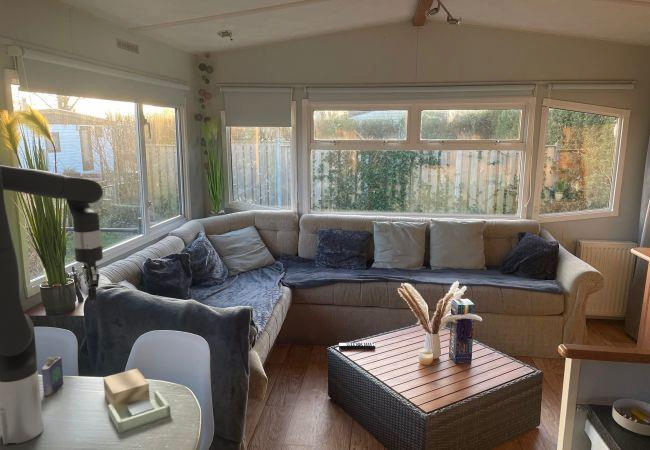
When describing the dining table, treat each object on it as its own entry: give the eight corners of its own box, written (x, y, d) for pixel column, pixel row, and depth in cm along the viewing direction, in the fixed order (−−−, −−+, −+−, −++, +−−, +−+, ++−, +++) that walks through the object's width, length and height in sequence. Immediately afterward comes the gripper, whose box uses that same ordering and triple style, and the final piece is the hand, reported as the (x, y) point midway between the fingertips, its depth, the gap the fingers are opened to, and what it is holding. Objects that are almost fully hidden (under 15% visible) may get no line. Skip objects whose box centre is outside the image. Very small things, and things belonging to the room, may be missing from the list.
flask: (50, 396, 145) (47, 363, 144) (40, 396, 145) (37, 364, 143) (65, 381, 154) (62, 350, 153) (56, 381, 154) (53, 350, 153)
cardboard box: (114, 413, 137) (113, 393, 136) (104, 395, 146) (103, 377, 145) (149, 401, 143) (148, 383, 142) (138, 385, 152) (137, 368, 151)
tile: (126, 405, 136) (126, 412, 136) (132, 415, 131) (133, 421, 132) (147, 398, 140) (147, 405, 140) (154, 407, 135) (154, 414, 135)
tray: (119, 433, 127) (118, 423, 127) (109, 414, 136) (108, 405, 135) (170, 415, 135) (170, 406, 135) (158, 399, 144) (157, 390, 144)
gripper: (70, 242, 147) (75, 296, 150) (78, 250, 136) (83, 308, 139) (96, 240, 151) (100, 292, 154) (106, 247, 141) (110, 303, 144)
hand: (92, 299), depth 147 cm, fingers closed
